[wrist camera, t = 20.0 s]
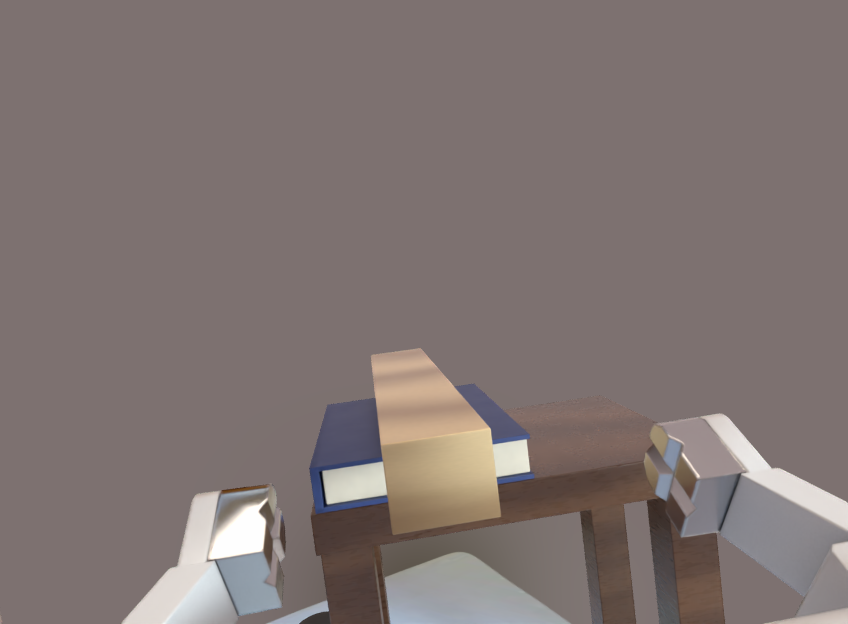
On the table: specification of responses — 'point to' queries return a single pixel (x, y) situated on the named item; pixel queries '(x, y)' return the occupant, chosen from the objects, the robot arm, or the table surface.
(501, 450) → the book
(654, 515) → the stool
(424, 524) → the wooden block
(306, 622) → the computer mouse
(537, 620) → the table surface
